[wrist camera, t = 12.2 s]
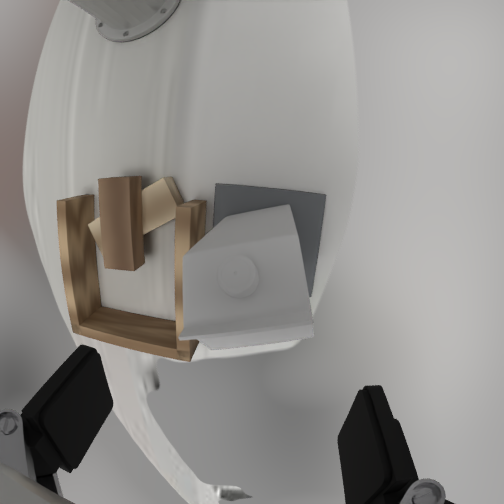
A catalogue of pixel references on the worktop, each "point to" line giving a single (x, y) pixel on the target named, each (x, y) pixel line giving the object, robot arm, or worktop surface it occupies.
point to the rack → (87, 286)
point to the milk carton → (247, 283)
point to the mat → (255, 198)
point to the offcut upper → (121, 222)
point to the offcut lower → (151, 207)
